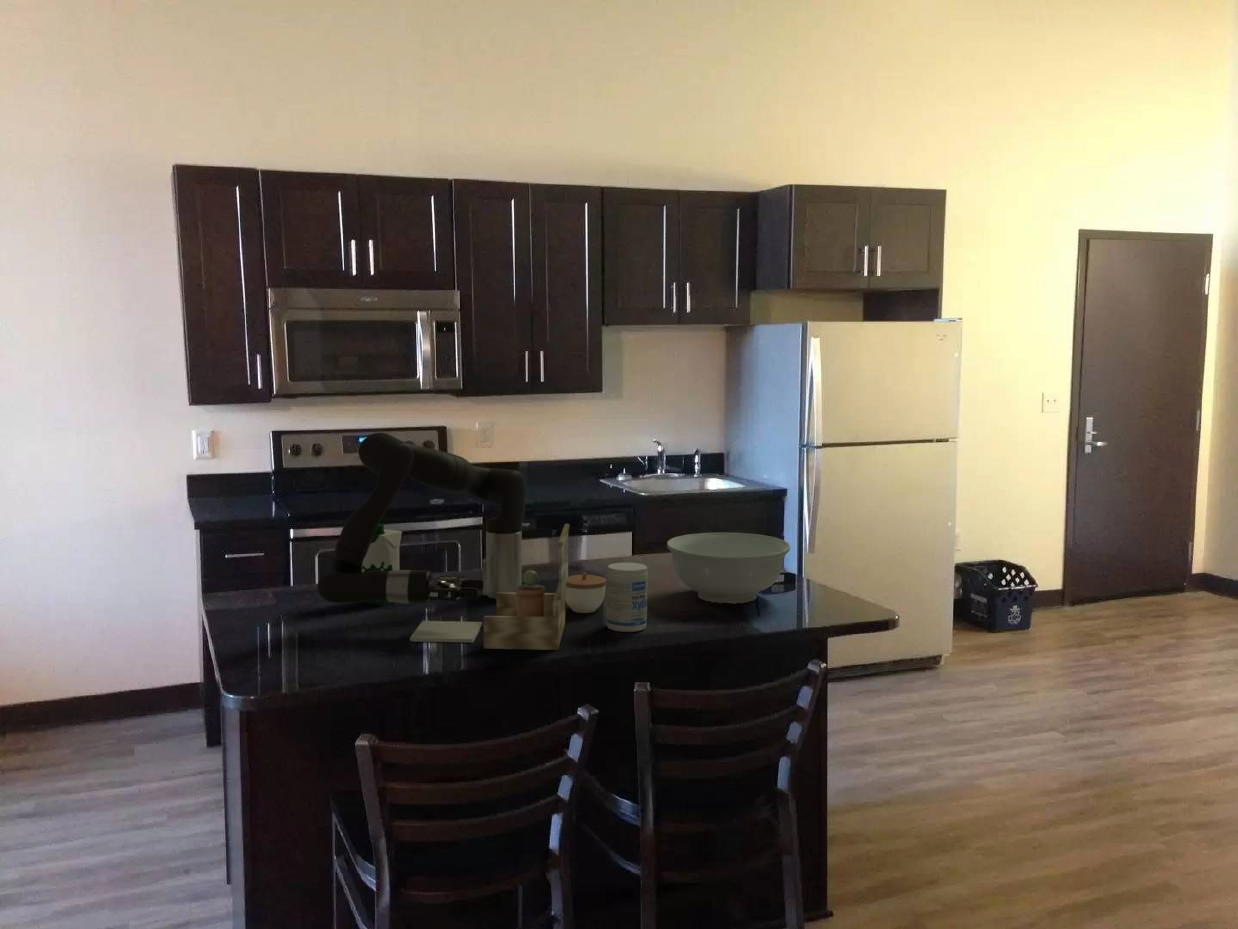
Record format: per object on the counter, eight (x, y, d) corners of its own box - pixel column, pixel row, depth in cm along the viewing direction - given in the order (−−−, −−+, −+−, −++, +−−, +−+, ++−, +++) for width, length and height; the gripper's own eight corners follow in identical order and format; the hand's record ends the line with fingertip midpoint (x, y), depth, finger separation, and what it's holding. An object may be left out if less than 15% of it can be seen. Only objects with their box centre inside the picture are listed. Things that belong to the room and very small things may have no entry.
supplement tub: (640, 635, 242) (641, 572, 241) (600, 631, 245) (601, 568, 243) (651, 624, 252) (652, 563, 250) (613, 620, 254) (614, 560, 253)
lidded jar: (600, 616, 258) (600, 579, 256) (557, 613, 260) (558, 576, 259) (609, 606, 268) (610, 569, 267) (568, 603, 270) (568, 567, 269)
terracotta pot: (509, 636, 240) (510, 571, 238) (527, 629, 246) (527, 565, 244) (533, 640, 237) (533, 574, 235) (550, 633, 242) (550, 569, 241)
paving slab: (409, 641, 235) (409, 637, 235) (422, 624, 249) (422, 620, 248) (472, 642, 234) (472, 639, 234) (482, 625, 248) (482, 622, 248)
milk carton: (356, 603, 267) (355, 525, 264) (378, 595, 275) (378, 519, 273) (384, 607, 263) (383, 528, 261) (406, 599, 271) (406, 522, 269)
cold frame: (483, 648, 230) (483, 540, 227) (497, 620, 252) (497, 522, 250) (561, 650, 230) (562, 542, 227) (568, 622, 252) (569, 523, 249)
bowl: (647, 604, 270) (648, 548, 268) (687, 578, 300) (689, 527, 298) (771, 619, 258) (773, 560, 256) (800, 590, 288) (802, 537, 286)
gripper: (402, 577, 233) (476, 579, 232) (415, 564, 247) (485, 566, 247) (402, 610, 233) (475, 612, 233) (415, 595, 248) (485, 597, 247)
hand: (480, 588), depth 240 cm, fingers open, 8 cm apart
